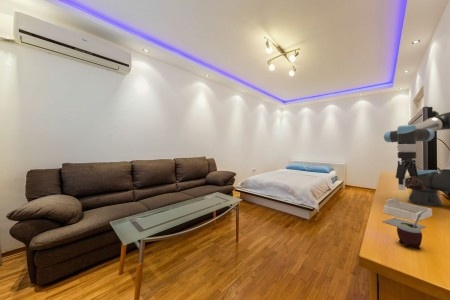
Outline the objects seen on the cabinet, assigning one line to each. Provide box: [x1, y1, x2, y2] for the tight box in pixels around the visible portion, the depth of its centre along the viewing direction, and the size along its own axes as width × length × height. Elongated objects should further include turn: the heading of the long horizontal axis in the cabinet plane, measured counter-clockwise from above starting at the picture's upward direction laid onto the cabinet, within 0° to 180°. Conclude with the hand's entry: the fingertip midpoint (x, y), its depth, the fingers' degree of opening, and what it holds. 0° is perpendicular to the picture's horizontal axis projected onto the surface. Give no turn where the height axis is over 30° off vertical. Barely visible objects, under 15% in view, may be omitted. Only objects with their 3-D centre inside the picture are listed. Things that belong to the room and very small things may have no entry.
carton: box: [383, 197, 433, 222], centre depth 101 cm, size 18×14×7 cm
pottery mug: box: [404, 176, 425, 190], centre depth 98 cm, size 12×9×8 cm
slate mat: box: [382, 217, 427, 230], centre depth 88 cm, size 12×12×1 cm
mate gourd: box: [396, 209, 427, 250], centre depth 70 cm, size 8×8×15 cm
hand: (407, 189), depth 101 cm, fingers closed on pottery mug, 11 cm apart
